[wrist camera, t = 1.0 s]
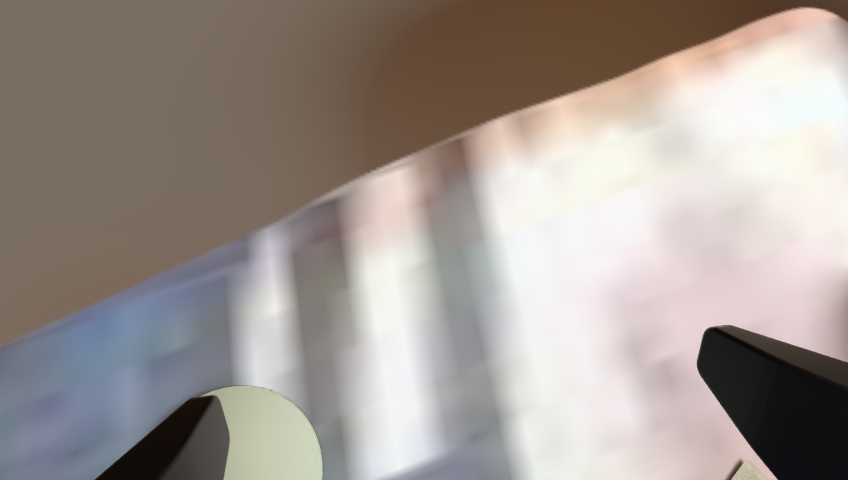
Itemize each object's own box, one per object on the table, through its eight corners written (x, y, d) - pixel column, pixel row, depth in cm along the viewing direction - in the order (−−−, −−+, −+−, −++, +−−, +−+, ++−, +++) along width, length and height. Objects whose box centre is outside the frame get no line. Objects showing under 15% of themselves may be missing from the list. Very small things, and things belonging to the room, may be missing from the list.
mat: (308, 585, 19) (306, 590, 18) (118, 574, 18) (113, 579, 18) (334, 392, 21) (333, 393, 21) (165, 378, 21) (161, 379, 20)
